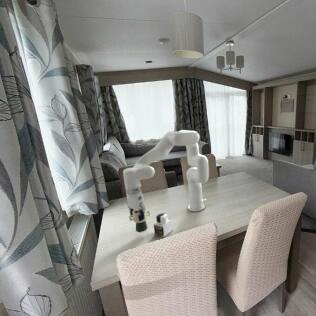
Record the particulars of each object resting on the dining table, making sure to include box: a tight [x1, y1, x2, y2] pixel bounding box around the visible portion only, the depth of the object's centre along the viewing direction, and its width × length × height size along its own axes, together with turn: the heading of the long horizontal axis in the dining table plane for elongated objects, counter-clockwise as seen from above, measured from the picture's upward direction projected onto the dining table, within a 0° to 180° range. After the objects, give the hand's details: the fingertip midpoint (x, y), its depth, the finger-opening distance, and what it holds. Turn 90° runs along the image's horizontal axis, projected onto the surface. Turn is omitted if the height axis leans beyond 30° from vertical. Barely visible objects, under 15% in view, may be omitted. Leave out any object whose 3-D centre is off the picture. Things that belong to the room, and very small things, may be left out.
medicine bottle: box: [153, 212, 173, 238], centre depth 119 cm, size 7×7×12 cm
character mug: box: [128, 207, 151, 233], centre depth 116 cm, size 11×7×13 cm, turn 123°
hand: (137, 218), depth 114 cm, fingers closed on character mug, 7 cm apart
